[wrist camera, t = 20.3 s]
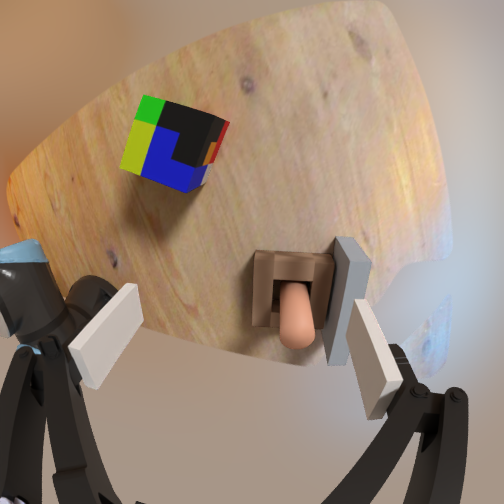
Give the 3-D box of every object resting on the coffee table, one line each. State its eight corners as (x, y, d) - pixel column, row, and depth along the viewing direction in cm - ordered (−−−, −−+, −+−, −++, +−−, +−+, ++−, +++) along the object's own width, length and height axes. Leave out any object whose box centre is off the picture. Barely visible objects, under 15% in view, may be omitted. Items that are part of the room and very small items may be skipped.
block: (253, 312, 50) (251, 326, 46) (256, 249, 45) (253, 259, 42) (320, 316, 49) (323, 329, 45) (330, 254, 44) (334, 264, 41)
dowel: (279, 295, 48) (278, 348, 35) (280, 272, 46) (281, 321, 34) (304, 297, 48) (312, 349, 35) (307, 273, 46) (317, 322, 33)
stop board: (320, 328, 50) (327, 365, 41) (335, 236, 43) (350, 261, 34) (336, 329, 50) (345, 365, 40) (353, 237, 43) (371, 262, 34)
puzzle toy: (206, 182, 42) (186, 193, 33) (150, 161, 42) (119, 167, 32) (229, 122, 39) (215, 115, 29) (171, 103, 38) (143, 94, 29)
